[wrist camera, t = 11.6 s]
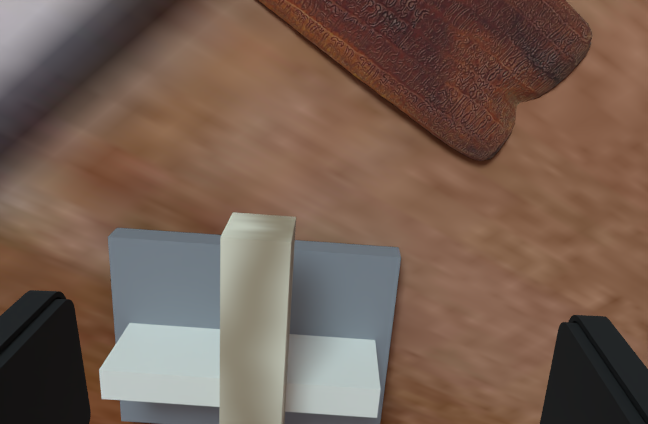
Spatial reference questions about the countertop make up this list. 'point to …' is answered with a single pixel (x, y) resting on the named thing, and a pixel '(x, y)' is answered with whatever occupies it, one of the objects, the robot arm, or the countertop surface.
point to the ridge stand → (204, 329)
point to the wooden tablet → (449, 57)
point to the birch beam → (255, 317)
